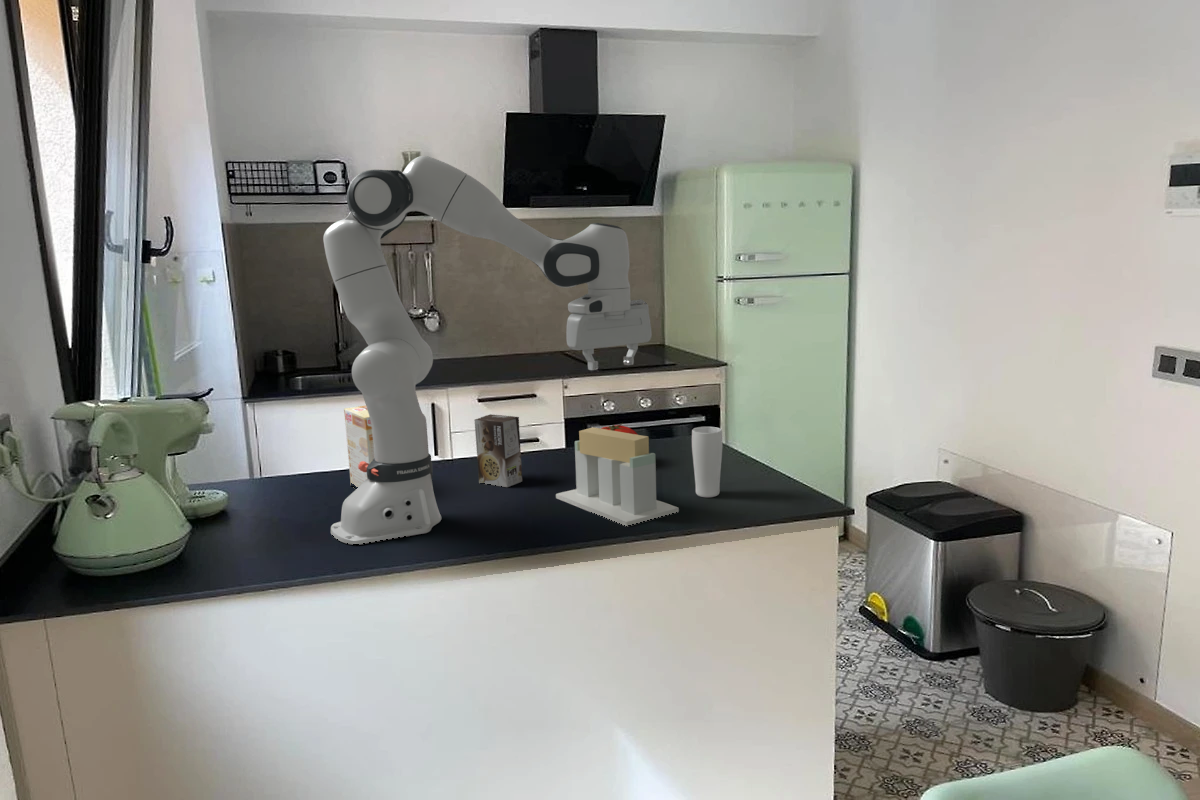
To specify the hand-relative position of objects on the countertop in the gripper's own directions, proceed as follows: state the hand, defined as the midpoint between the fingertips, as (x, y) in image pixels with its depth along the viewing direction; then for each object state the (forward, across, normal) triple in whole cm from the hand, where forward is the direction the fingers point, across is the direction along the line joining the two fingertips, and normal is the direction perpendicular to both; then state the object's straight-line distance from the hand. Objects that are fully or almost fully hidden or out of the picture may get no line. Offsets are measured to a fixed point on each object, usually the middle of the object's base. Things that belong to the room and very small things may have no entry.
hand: (611, 367), depth 183 cm
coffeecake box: (+31, +36, -48) cm, 67 cm away
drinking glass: (+31, -20, +8) cm, 37 cm away
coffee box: (+31, +10, -33) cm, 46 cm away
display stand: (+30, 0, 0) cm, 31 cm away
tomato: (+31, -20, -26) cm, 45 cm away
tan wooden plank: (+20, 0, 0) cm, 20 cm away
